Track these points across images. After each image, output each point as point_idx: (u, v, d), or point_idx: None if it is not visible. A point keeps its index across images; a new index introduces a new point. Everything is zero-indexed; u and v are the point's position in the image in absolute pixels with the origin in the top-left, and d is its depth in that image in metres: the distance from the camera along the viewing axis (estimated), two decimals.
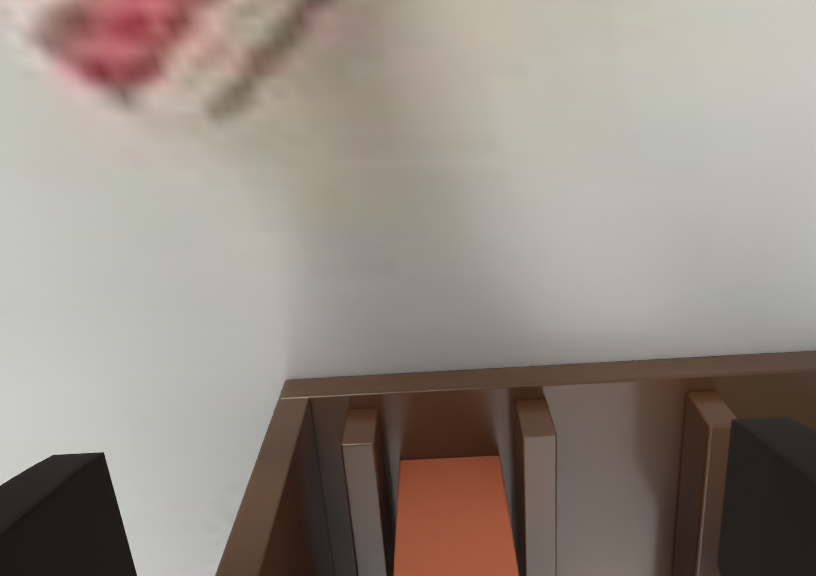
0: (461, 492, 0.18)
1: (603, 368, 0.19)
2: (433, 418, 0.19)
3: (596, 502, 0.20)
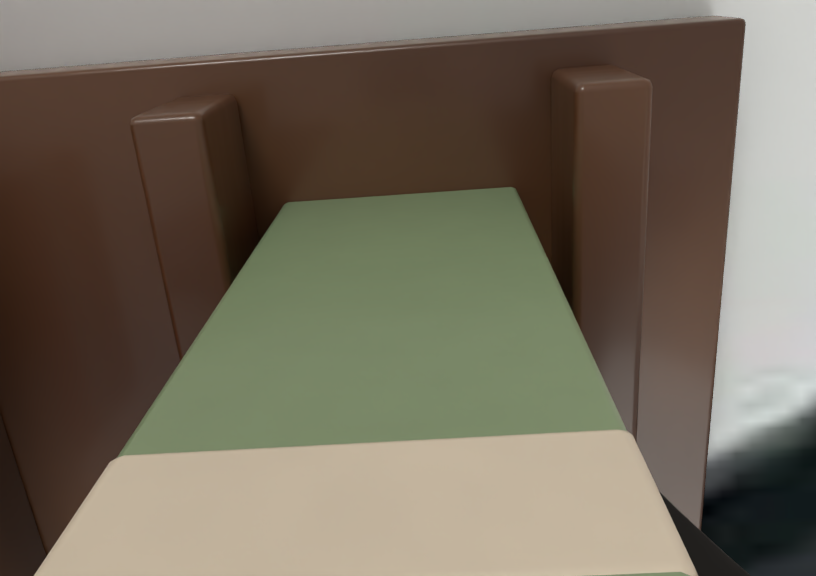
0: None
1: (40, 70, 0.10)
2: None
3: (70, 344, 0.10)
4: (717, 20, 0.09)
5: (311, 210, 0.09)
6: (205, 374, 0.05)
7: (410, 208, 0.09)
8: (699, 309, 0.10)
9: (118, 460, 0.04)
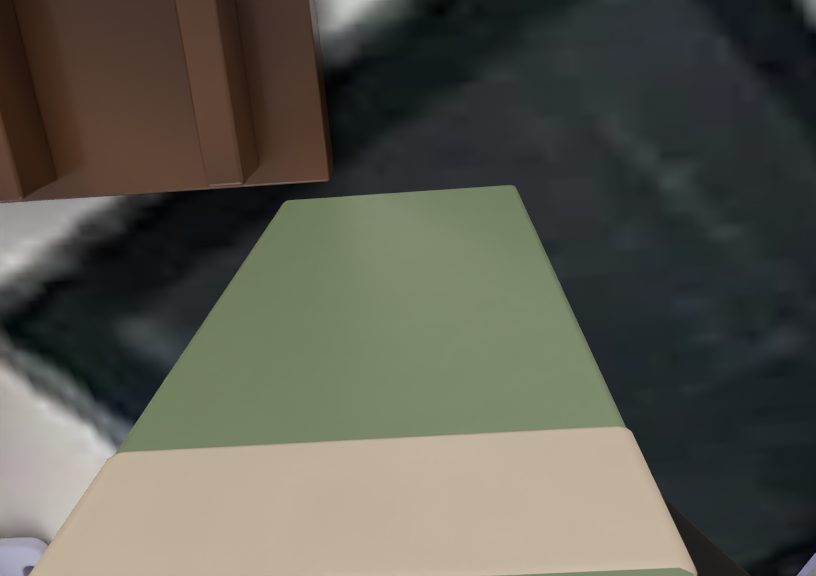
0: None
1: None
2: None
3: None
4: None
5: (310, 208, 0.09)
6: (204, 371, 0.05)
7: (410, 206, 0.09)
8: None
9: (116, 456, 0.04)
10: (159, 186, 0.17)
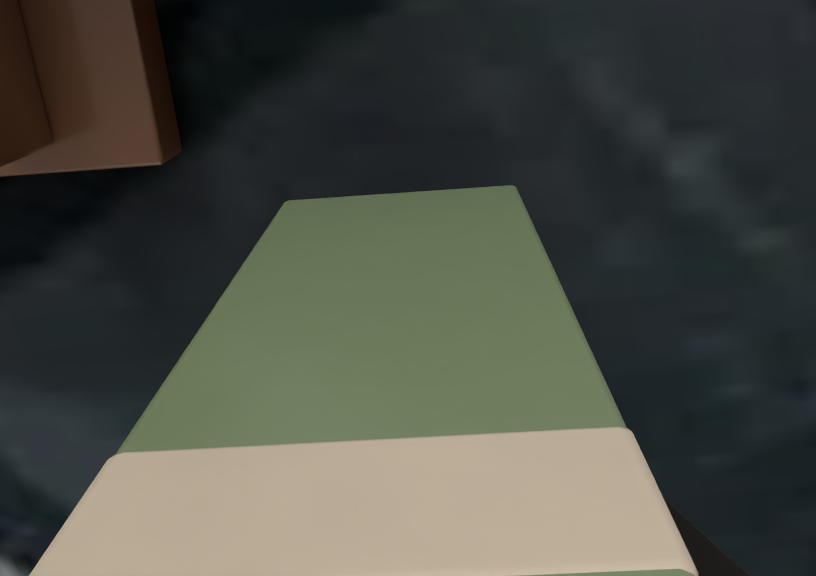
0: None
1: None
2: None
3: None
4: None
5: (311, 209, 0.09)
6: (204, 372, 0.05)
7: (410, 207, 0.09)
8: None
9: (117, 458, 0.04)
10: None
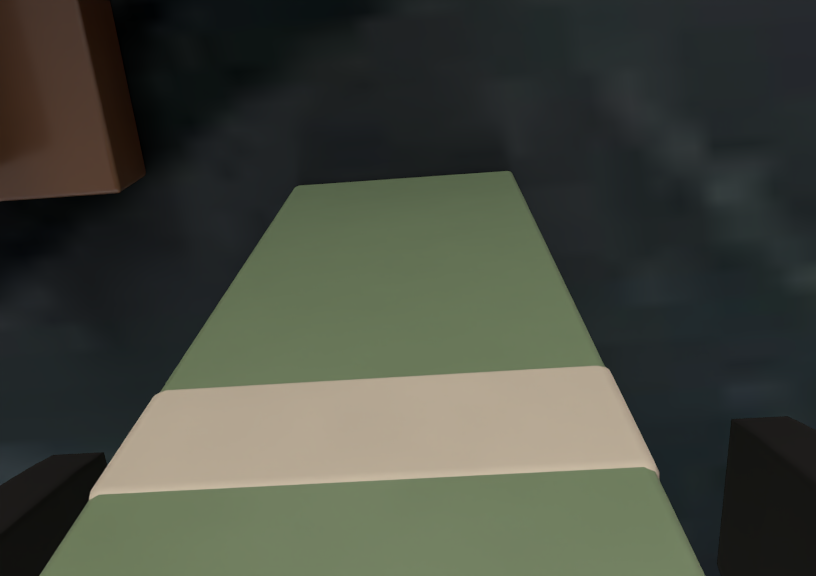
0: None
1: None
2: None
3: None
4: None
5: (320, 192, 0.10)
6: (232, 327, 0.06)
7: (413, 190, 0.09)
8: None
9: (162, 393, 0.05)
10: None
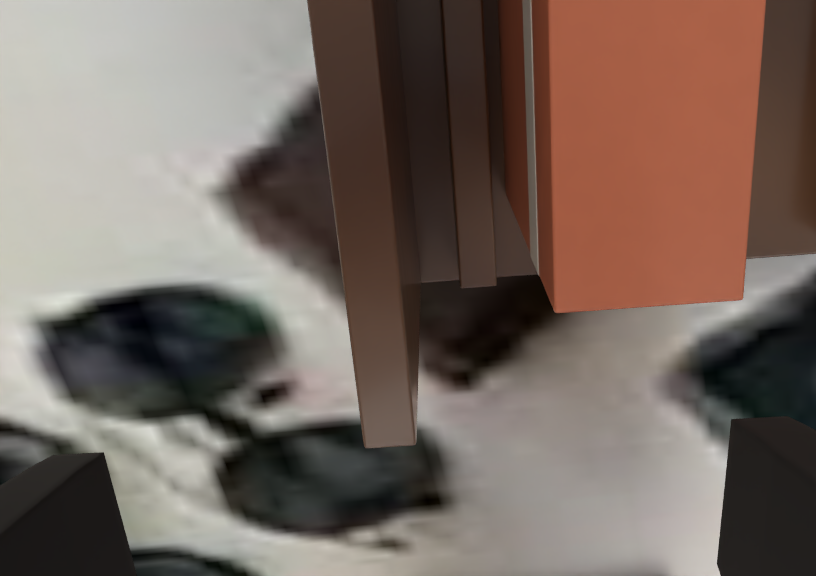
0: None
1: None
2: None
3: None
4: None
5: None
6: None
7: None
8: None
9: None
10: None
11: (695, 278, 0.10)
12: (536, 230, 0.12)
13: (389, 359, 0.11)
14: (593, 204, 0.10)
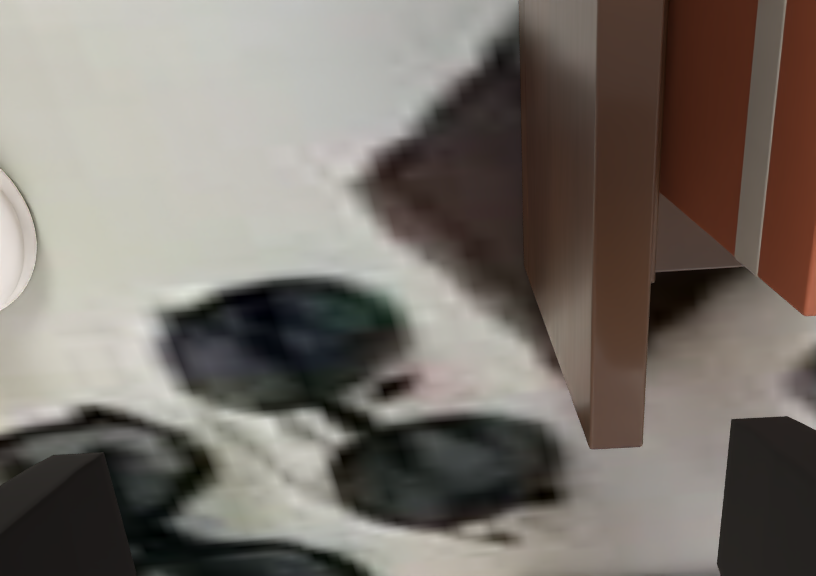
0: None
1: None
2: None
3: None
4: None
5: None
6: None
7: None
8: None
9: None
10: None
11: None
12: (760, 230, 0.11)
13: (629, 360, 0.11)
14: None
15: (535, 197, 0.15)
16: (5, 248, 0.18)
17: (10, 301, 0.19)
